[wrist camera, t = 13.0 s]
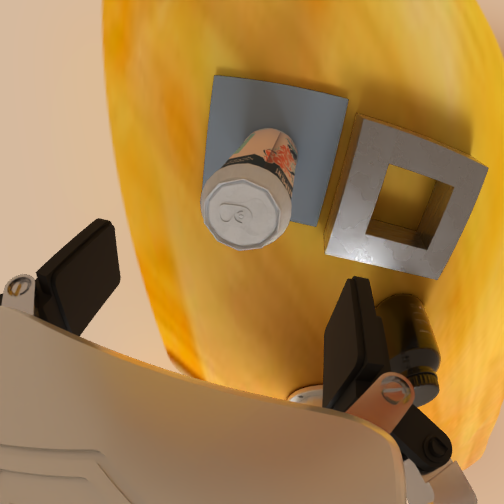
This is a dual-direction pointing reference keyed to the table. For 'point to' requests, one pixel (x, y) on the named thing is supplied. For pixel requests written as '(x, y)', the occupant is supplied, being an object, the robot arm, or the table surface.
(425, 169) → the gray square frame
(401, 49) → the table surface
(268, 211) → the beer can
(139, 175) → the table surface
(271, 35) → the table surface
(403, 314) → the supplement bottle
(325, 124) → the mat
